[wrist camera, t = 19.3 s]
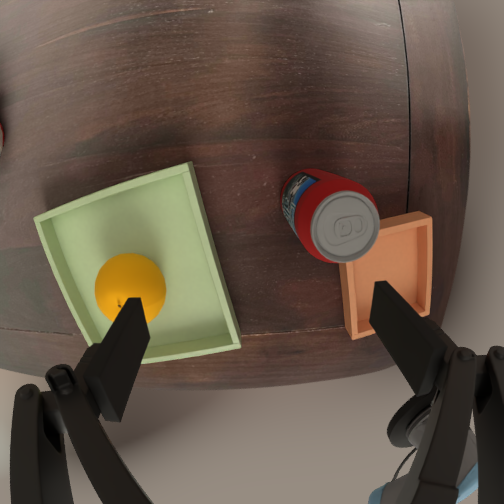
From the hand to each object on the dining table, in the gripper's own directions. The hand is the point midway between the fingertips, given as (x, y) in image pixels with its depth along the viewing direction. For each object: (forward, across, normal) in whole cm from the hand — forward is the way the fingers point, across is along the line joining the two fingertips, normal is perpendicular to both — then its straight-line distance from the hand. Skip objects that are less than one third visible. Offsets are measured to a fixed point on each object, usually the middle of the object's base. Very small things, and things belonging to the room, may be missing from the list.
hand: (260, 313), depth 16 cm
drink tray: (+18, +17, -7) cm, 25 cm away
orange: (+18, -13, -5) cm, 22 cm away
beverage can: (+18, +7, +3) cm, 20 cm away
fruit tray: (+18, -13, -5) cm, 23 cm away
